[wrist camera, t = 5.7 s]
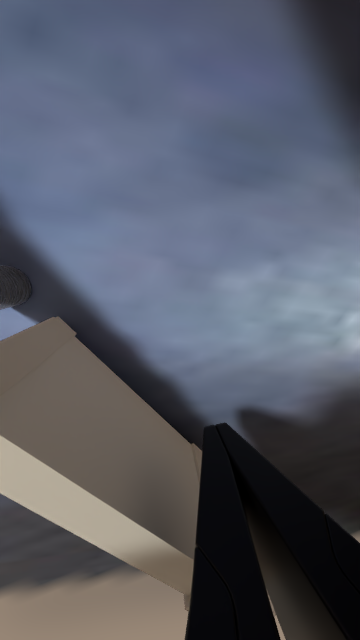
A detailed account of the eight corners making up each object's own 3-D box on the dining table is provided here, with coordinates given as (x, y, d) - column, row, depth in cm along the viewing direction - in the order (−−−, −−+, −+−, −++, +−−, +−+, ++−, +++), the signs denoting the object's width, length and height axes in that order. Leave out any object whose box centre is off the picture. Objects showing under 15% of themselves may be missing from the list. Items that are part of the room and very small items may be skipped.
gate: (29, 336, 8) (-155, 435, 3) (56, 314, 8) (-94, 381, 3) (184, 468, 11) (205, 620, 6) (204, 453, 11) (242, 595, 6)
